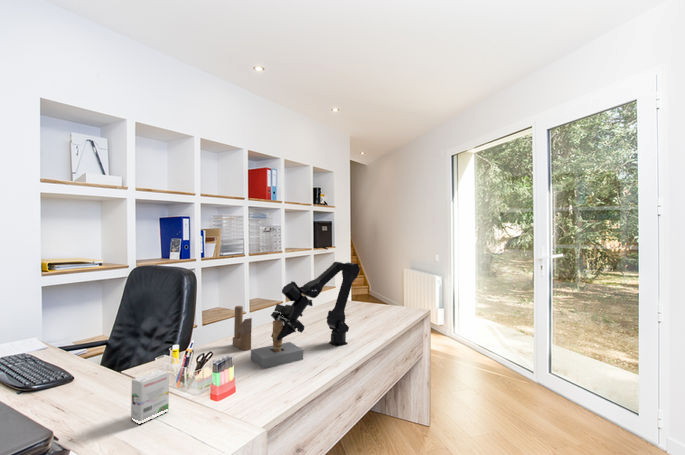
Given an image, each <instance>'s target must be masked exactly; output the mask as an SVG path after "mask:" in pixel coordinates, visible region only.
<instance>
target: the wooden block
mask: <svg viewBox="0 0 685 455" xmlns="http://www.w3.org/2000/svg"><path fill="white" fill-rule="evenodd" d="M243 312H244V307H243V306H242V305H236V306H235V307H234V325H233V326H234V327H233V328H234V329H233V335H234V336H233V337H232V346H233V347H235V348H237V349H240V350H242V351H243V352H246V351H251V350H252V326H253V323H252V319H253V318H252V317H249V318H245V319H244V320H243V317H244V316H243V314H244V313H243Z"/></svg>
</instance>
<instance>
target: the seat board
mask: <svg viewBox="0 0 685 455" xmlns="http://www.w3.org/2000/svg"><path fill="white" fill-rule="evenodd" d="M250 360H251V361H252V362H253V363H255V365H257V366H258V367H260V369H262V370H264V369H268V368H273V367H278V366H281V365H285V364H289V363H294V362H298V361H302V360H304V349H303V348H301V347H299V346H298V345H296V344H294V343H293V342H291V341H287V342H282V348H281V351H280V352H276V353H274V349H273V344H272V345H267V346H262V347H258V348H253V349H252V348H251V349H250Z"/></svg>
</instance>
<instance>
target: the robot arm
mask: <svg viewBox="0 0 685 455" xmlns="http://www.w3.org/2000/svg"><path fill="white" fill-rule="evenodd" d="M360 270H361V267H360V265H359V264H358V263H355V262H349V261H347V262H345V263H344V262H341V261H334V262H332V264H331V265H330V266H329V267H328V268H327V269H326V270H324V271H323V272H322V273H321V274H319V275H318V277H316V278H314V279H311V280H309V281H308V282H306V283H304V285H302V286H299V285H297V282H296V281H290V283H287V284H286V285H285V286H283V287H282V289H281V293H282V294H283V295H284V296H285V297H286V298H287V299H288V300H289V301H290V302H292V303H291V305H290V304H285V305H282V304H279V303H276V306H275V307H274V310H273V312H272V313H271V314H270V316H271V318H272V319H273V321H274V320H282V321H283V329H282V331H281V332H280V334H279V335H278V337H277V340H280V339H282V340H283V339H284V338H286V337H287V336H289V335H292V334H293V333H296V332H298V333H303V332H304V330H305V325H304V324H303V323H302V322H301V321H300V320H299V318H300V317H303V312H304V311H305V310H306V308H307V307H308V306H310V307H313V299H315V298H317V297H318V296H320V294H321V293H322V291H323V288H324V287H325V285H327V284H328V283H329V282H330V281H331V280H333V278H334V277H335V276H337V274H339V273H340V272H341V275H342V276H341V277H342V281H341V285H340V288H339V292H338V294H337V298H336V302H335V305H334V308H333V309H332V310H328V313H327V316H326V323H327V326H328V328H329V330H331V334H330V341H329V344H331V345H334V346H335V347H340V346H344V345H348V342H347V340H346V339H347V337H346V336H347V334H346V333H348V332H349V328H350V326H348V324H346V314H345V309H346V307H347V303H348V300H349V297H350V293H351V289H352V285H353V282H354V281H355V280H356V279H357V278H358V276H359V275H360ZM309 298H310V299H309ZM296 329H297V330H296ZM270 337H271V338H272V339H273V331H272V332H271V336H270Z"/></svg>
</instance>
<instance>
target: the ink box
mask: <svg viewBox="0 0 685 455" xmlns="http://www.w3.org/2000/svg"><path fill="white" fill-rule="evenodd" d="M169 393H170V372H167V371H165V370H162V369H159V370H155V371H153V372H149V373H147V374H144V375H141V376H138V377H135V378H133V379H131V397H130V398H131V404H130V410H131V411H130V412H131V413H130V419H131V418H133V419H135V420H138V421H142V420H144V419H146V418H148V417H150V416H152V415H155V414H157V413H159V412H161V411H164V410H166V409H168V410H169V404H170V403H169V402H170V394H169Z"/></svg>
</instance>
